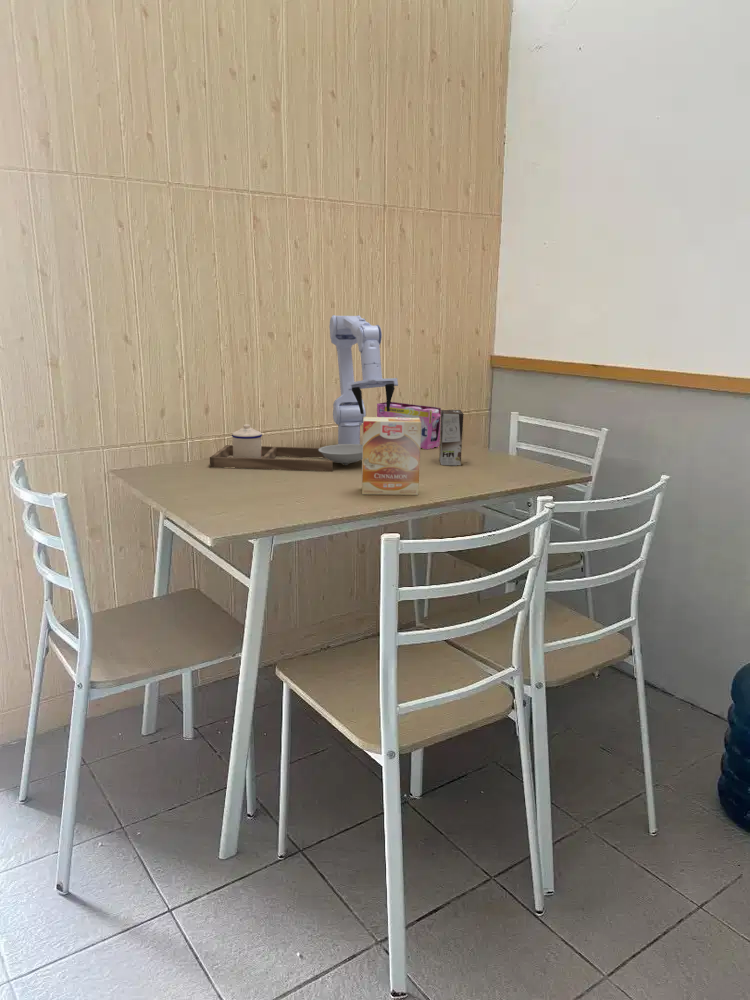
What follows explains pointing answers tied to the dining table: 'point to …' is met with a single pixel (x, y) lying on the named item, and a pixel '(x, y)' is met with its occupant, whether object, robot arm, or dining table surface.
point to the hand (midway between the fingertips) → (375, 412)
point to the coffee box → (451, 437)
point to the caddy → (273, 459)
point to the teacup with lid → (247, 443)
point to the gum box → (424, 413)
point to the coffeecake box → (391, 455)
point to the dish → (343, 453)
